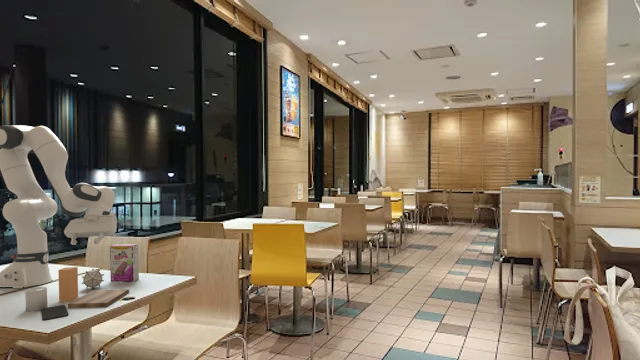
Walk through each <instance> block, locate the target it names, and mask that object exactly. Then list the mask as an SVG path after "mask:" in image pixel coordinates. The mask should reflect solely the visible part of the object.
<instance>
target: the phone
mask: <svg viewBox="0 0 640 360" xmlns="http://www.w3.org/2000/svg"><path fill="white" fill-rule="evenodd" d="M40 313H41V318H42V319H41V320H43V321H50V320H54V319H60V318H66V317H68V316H69V315H70V314H69V311H68V308H67V306H66V305H65V304H62V305H61V304H60V305H55V306H49V307H47V308H44V309H41V311H40Z"/></svg>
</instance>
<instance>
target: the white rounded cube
mask: <svg viewBox="0 0 640 360" xmlns="http://www.w3.org/2000/svg"><path fill="white" fill-rule="evenodd" d="M24 295H25V312H28V313H34V312H41V309H44V308H48V288H47V287H45V286H40V287H33V288H29V289H26V290H25V294H24Z"/></svg>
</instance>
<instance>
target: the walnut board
mask: <svg viewBox="0 0 640 360" xmlns="http://www.w3.org/2000/svg"><path fill="white" fill-rule="evenodd" d="M129 293H130V289H129V288H126V289H125V288H124V289H123V288H121V289H118V288H117V289H92V290H91V291H90V292H88V293H86V294H84V295H82V296H80V297H78V298H76V299H75V300H73V301H69V302H68V303H67V309H74V308H75V309H76V308H77V309H79V308H80V309H81V308H83V309H85V308H107V307H109V306H111V305H112V304H114V303H116V302H117V301H119V300H120V299H121V298H124V297H125V296H126V295H128V294H129Z"/></svg>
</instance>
